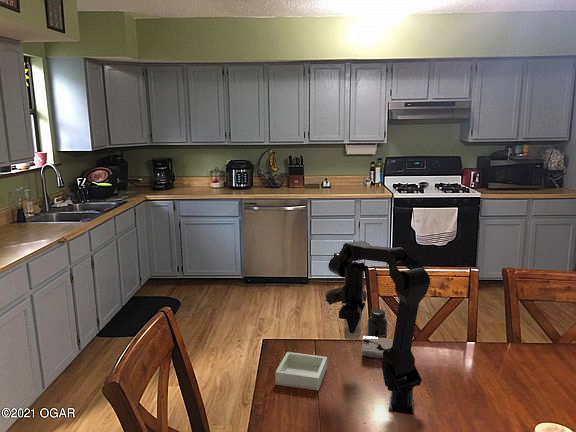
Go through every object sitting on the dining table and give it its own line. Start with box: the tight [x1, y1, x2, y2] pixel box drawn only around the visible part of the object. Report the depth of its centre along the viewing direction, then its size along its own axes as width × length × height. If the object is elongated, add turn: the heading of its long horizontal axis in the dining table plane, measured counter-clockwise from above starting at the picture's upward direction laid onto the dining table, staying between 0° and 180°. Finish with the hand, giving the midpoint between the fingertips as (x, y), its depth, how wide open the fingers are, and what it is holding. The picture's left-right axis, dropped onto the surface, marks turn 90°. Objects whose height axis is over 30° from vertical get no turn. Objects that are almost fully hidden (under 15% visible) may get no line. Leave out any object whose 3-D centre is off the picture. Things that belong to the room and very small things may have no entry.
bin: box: [274, 351, 328, 391], centre depth 147 cm, size 13×13×4 cm
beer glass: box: [361, 334, 393, 359], centre depth 159 cm, size 7×7×15 cm
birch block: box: [343, 317, 362, 341], centre depth 149 cm, size 4×4×8 cm
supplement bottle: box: [366, 308, 388, 338], centre depth 167 cm, size 7×7×12 cm
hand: (352, 329), depth 150 cm, fingers closed on birch block, 4 cm apart
